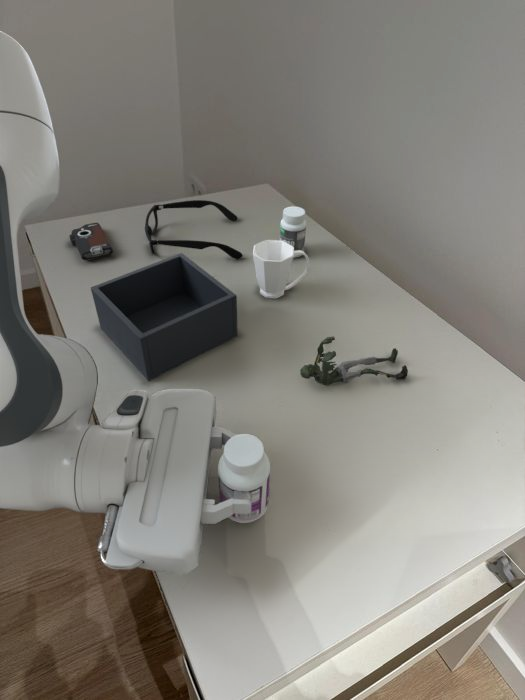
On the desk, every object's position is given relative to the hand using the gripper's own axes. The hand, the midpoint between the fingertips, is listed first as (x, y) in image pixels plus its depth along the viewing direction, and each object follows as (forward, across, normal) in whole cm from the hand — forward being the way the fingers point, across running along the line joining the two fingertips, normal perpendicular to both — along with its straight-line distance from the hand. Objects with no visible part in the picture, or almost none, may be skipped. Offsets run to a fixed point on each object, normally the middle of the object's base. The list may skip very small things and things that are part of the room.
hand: (252, 473), depth 53 cm
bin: (-14, +30, +6) cm, 33 cm away
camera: (-33, +54, +7) cm, 64 cm away
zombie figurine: (+13, +21, +6) cm, 26 cm away
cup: (+3, +42, +6) cm, 42 cm away
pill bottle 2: (+5, +54, +6) cm, 55 cm away
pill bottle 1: (-1, 0, +6) cm, 6 cm away
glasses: (-14, +58, +6) cm, 60 cm away
